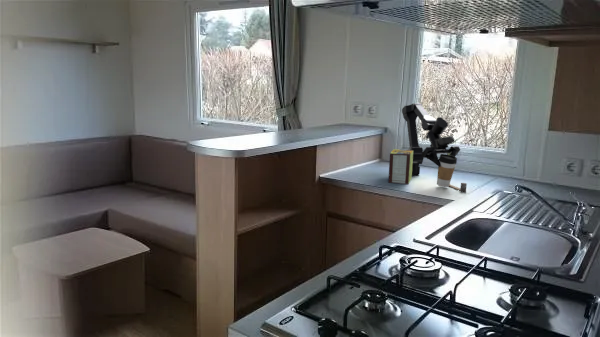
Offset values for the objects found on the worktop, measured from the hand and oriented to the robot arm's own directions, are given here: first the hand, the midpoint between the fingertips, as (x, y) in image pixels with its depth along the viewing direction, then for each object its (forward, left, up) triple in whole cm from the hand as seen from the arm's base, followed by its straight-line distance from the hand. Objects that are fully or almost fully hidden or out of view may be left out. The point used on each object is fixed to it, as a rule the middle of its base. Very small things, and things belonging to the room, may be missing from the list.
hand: (447, 166), depth 224 cm
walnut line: (+4, +3, -11) cm, 12 cm away
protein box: (-22, +13, -11) cm, 28 cm away
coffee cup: (-1, +2, -10) cm, 10 cm away
